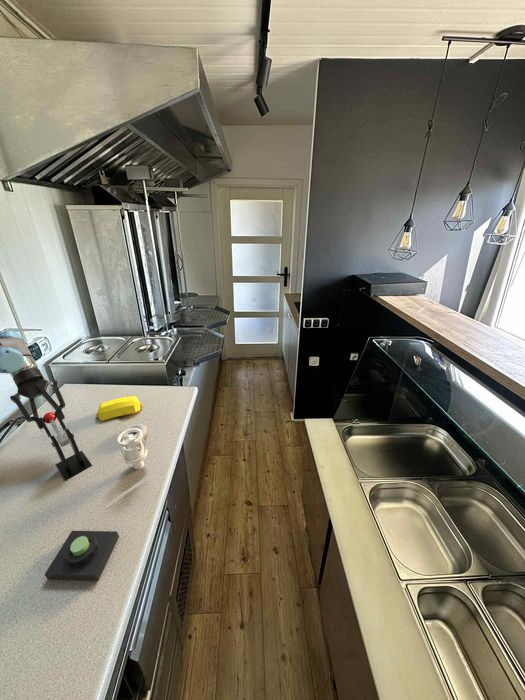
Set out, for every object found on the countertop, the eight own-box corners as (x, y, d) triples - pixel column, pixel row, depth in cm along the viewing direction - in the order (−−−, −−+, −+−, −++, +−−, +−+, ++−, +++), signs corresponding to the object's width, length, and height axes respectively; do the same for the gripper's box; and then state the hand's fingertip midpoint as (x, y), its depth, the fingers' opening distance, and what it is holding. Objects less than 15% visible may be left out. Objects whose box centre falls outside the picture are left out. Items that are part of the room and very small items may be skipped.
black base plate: (47, 579, 66) (41, 570, 64) (74, 535, 75) (69, 526, 73) (98, 581, 65) (93, 571, 64) (119, 536, 74) (115, 526, 73)
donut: (132, 426, 113) (113, 444, 104) (130, 419, 111) (111, 436, 103) (153, 431, 110) (136, 449, 101) (152, 424, 109) (134, 442, 100)
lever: (42, 420, 96) (39, 413, 93) (55, 415, 98) (52, 408, 96) (59, 449, 89) (56, 442, 87) (72, 443, 92) (70, 436, 89)
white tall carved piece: (131, 480, 90) (119, 444, 83) (125, 466, 95) (114, 431, 88) (153, 469, 94) (144, 434, 87) (147, 456, 99) (137, 422, 92)
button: (69, 556, 67) (66, 551, 66) (78, 540, 70) (76, 535, 69) (83, 556, 67) (81, 552, 66) (92, 540, 70) (90, 536, 69)
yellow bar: (97, 414, 120) (96, 425, 114) (93, 401, 117) (91, 411, 111) (143, 403, 127) (144, 413, 120) (139, 390, 124) (140, 399, 117)
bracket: (56, 466, 96) (41, 435, 90) (82, 452, 101) (70, 422, 95) (66, 483, 89) (51, 450, 83) (93, 467, 95) (80, 436, 89)
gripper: (54, 367, 105) (84, 422, 103) (-4, 387, 94) (28, 448, 92) (53, 359, 100) (85, 416, 97) (-9, 379, 89) (25, 444, 86)
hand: (57, 432), depth 94 cm, fingers closed on lever, 4 cm apart
